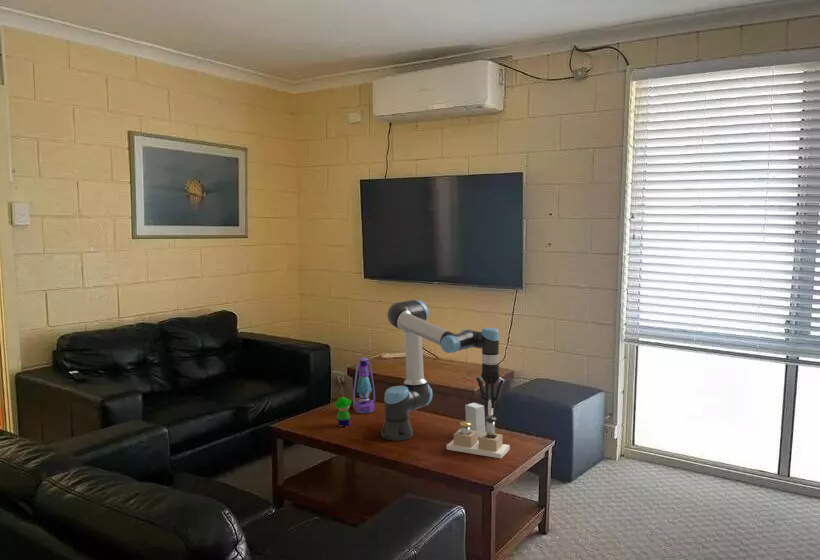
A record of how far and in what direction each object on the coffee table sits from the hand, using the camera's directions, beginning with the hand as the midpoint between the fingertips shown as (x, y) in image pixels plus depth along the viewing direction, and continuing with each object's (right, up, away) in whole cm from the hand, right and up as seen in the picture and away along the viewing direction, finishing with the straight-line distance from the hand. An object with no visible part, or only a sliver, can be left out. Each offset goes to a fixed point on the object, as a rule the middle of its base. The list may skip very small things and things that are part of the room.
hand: (490, 414), depth 279 cm
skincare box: (-4, -15, +24) cm, 29 cm away
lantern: (-61, -12, +64) cm, 90 cm away
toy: (-70, -14, +40) cm, 82 cm away
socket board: (-5, -17, +4) cm, 18 cm away
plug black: (0, -11, +1) cm, 11 cm away
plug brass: (-11, -14, +7) cm, 19 cm away
